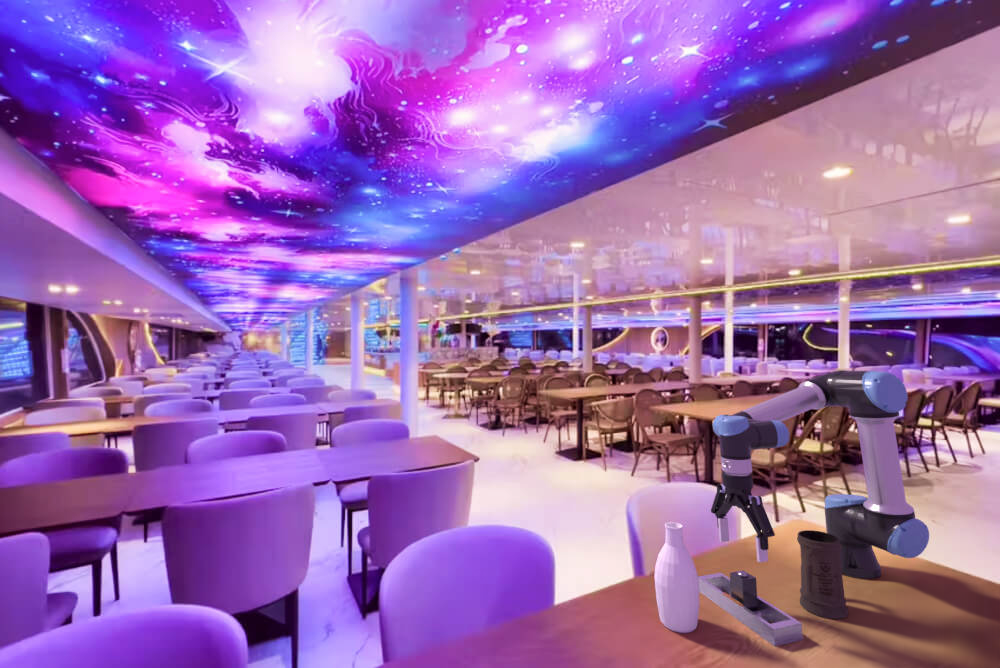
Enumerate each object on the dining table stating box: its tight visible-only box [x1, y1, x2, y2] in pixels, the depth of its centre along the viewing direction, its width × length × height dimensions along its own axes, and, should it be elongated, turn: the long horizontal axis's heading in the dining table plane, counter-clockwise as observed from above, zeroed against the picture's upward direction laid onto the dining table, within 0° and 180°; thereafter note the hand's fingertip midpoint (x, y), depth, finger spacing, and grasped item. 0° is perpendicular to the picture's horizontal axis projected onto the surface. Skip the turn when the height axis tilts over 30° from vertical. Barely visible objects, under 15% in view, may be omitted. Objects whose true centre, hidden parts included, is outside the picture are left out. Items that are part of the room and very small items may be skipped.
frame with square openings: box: [697, 572, 803, 647], centre depth 122 cm, size 8×28×4 cm, turn 15°
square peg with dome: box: [729, 570, 758, 612], centre depth 122 cm, size 4×4×11 cm
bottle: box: [654, 521, 700, 634], centre depth 119 cm, size 11×11×25 cm
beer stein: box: [796, 529, 849, 620], centre depth 126 cm, size 15×11×20 cm
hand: (742, 550), depth 123 cm, fingers open, 13 cm apart
